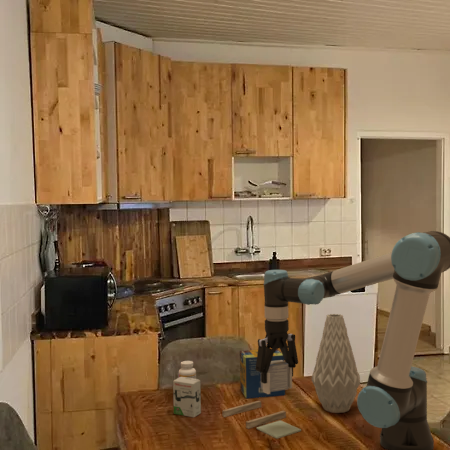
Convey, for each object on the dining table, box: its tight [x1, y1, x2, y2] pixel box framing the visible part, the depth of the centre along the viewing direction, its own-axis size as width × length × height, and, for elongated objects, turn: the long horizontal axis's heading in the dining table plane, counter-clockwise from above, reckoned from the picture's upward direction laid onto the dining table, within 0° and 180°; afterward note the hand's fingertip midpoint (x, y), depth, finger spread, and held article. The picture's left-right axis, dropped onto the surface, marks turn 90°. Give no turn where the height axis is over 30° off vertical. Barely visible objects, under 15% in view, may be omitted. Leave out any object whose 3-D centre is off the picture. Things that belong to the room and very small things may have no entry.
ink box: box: [172, 376, 202, 418], centre depth 202 cm, size 9×5×12 cm, turn 62°
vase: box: [311, 313, 361, 414], centre depth 202 cm, size 17×17×33 cm
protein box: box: [239, 348, 286, 399], centre depth 222 cm, size 10×15×16 cm
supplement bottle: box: [178, 360, 197, 379], centre depth 220 cm, size 7×7×13 cm
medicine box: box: [261, 360, 289, 392], centre depth 186 cm, size 8×4×9 cm, turn 109°
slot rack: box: [221, 400, 287, 430], centre depth 197 cm, size 14×16×2 cm
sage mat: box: [256, 419, 302, 440], centre depth 185 cm, size 10×10×1 cm
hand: (277, 389), depth 185 cm, fingers closed on medicine box, 8 cm apart
